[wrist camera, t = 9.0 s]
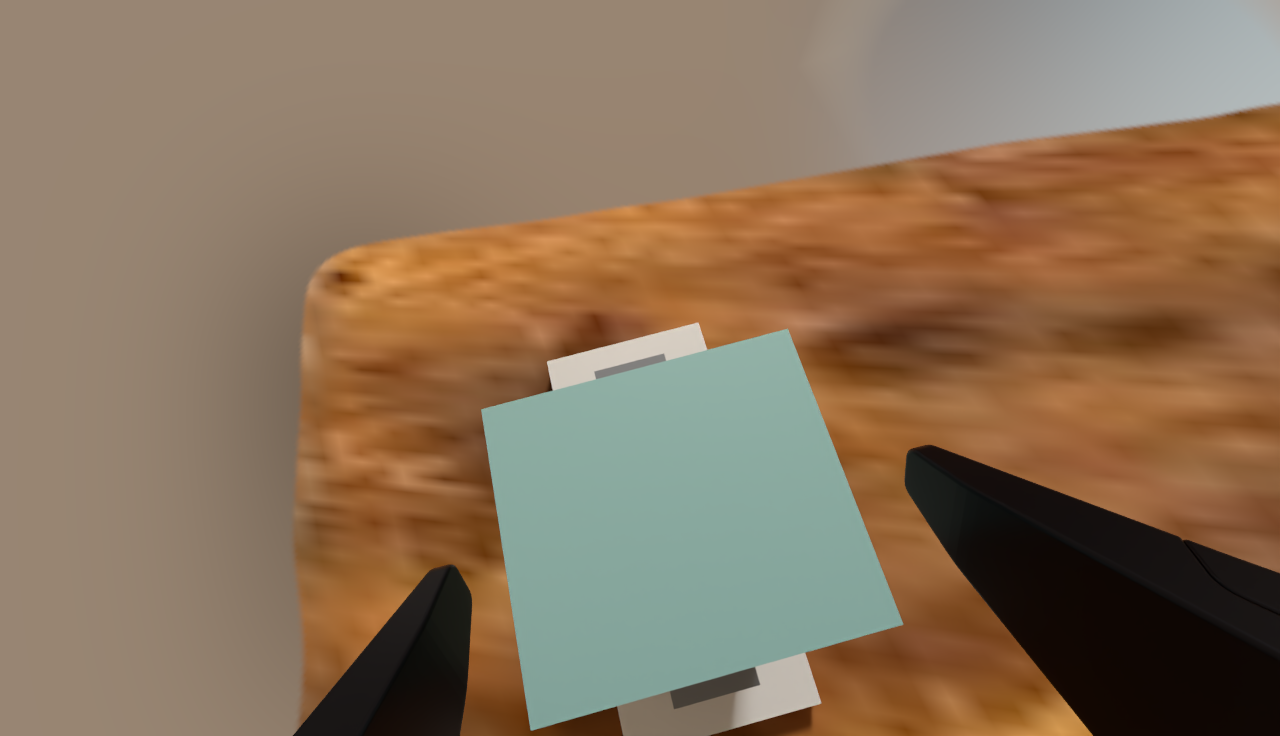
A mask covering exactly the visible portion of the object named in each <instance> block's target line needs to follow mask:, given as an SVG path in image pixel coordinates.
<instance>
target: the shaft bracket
mask: <svg viewBox="0 0 1280 736" xmlns="http://www.w3.org/2000/svg"><path fill="white" fill-rule="evenodd" d="M706 350H707V348H706V345H705V342H704V339H703V335H702V332H701V329H700V326H699V323H695V324H691V325H687V326H683V327H679V328H675V329H672V330H668V331H664V332H660V333H656V334H652V335H648V336H644V337H641V338H637V339H633V340H629V341H625V342H621V343H617V344H614V345H610V346H606V347H602V348H598V349H594V350H590V351H586V352H583V353H579V354H575V355H571V356H567V357H563V358H559V359H555V360H552V361H548V362H547V364H548V369H549V374H550V379H551V384H552V389H553V391H554V390H557V389H561V388H565V387H569V386H573V385H576V384H580V383H584V382H588V381H592V380H595V379H599V378H603V377H607V376H611V375H614V374H618V373H622V372H626V371H630V370H633V369H637V368H641V367H645V366H649V365H652V364H656V363H660V362H664V361H668V360H671V359H675V358H679V357H683V356H687V355H690V354H694V353H698V352H702V351H706ZM818 704H821V701H820V698H819V694H818V691H817V688H816V685H815V682H814V679H813V676H812V673H811V670H810V667H809V664H808V660H807V657H806V654H805V653H802V654H798V655H795V656H791V657H788V658H784V659H781V660H777V661H774V662H770V663H767V664H763V665H760V666H756V667H753V668H749V669H746V670H742V671H739V672H735V673H732V674H728V675H725V676H721V677H718V678H714V679H711V680H707V681H704V682H700V683H697V684H693V685H690V686H686V687H683V688H679V689H676V690H672V691H669V692H665V693H662V694H658V695H655V696H651V697H647V698H644V699H640V700H637V701H633V702H630V703H626V704H623V705H619V706H617V708H618V713H619V718H620V723H621V728H622V733H623V736H709V735H713V734H716V733H720V732H723V731H727V730H730V729H734V728H737V727H741V726H744V725H748V724H751V723H755V722H758V721H762V720H765V719H769V718H772V717H776V716H779V715H783V714H786V713H790V712H793V711H797V710H800V709H804V708H807V707H811V706H814V705H818Z"/></svg>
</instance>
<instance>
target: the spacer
mask: <svg viewBox="0 0 1280 736" xmlns="http://www.w3.org/2000/svg"><path fill="white" fill-rule="evenodd" d="M481 411H482V417H483V424H484V430H485V437H486V443H487V450H488V456H489V463H490V469H491V476H492V482H493V489H494V495H495V502H496V508H497V515H498V521H499V528H500V534H501V541H502V547H503V554H504V560H505V567H506V573H507V580H508V586H509V593H510V599H511V606H512V612H513V619H514V625H515V632H516V638H517V645H518V651H519V658H520V664H521V671H522V677H523V684H524V690H525V697H526V703H527V710H528V716H529V723H530V729H531V731H532V730H535V729H539V728H542V727H546V726H549V725H553V724H556V723H560V722H563V721H567V720H570V719H574V718H577V717H581V716H584V715H588V714H591V713H595V712H598V711H602V710H605V709H609V708H612V707H616V706H619V705H623V704H626V703H630V702H633V701H637V700H640V699H644V698H647V697H651V696H655V695H658V694H662V693H665V692H669V691H672V690H676V689H679V688H683V687H686V686H690V685H693V684H697V683H700V682H704V681H707V680H711V679H714V678H718V677H721V676H725V675H728V674H732V673H735V672H739V671H742V670H746V669H749V668H753V667H756V666H760V665H763V664H767V663H770V662H774V661H777V660H781V659H784V658H788V657H791V656H795V655H798V654H802V653H805V652H809V651H812V650H816V649H819V648H823V647H826V646H830V645H833V644H837V643H840V642H844V641H847V640H851V639H854V638H858V637H861V636H865V635H868V634H872V633H875V632H879V631H882V630H886V629H889V628H893V627H896V626H900V625H903V622H902V620H901V617H900V615H899V612H898V609H897V607H896V604H895V602H894V599H893V597H892V594H891V592H890V589H889V586H888V584H887V581H886V579H885V576H884V574H883V571H882V569H881V566H880V563H879V561H878V558H877V556H876V553H875V551H874V548H873V546H872V543H871V540H870V538H869V535H868V533H867V530H866V528H865V525H864V523H863V520H862V517H861V515H860V512H859V510H858V507H857V505H856V502H855V500H854V497H853V494H852V492H851V489H850V487H849V484H848V482H847V479H846V477H845V474H844V471H843V469H842V466H841V464H840V461H839V459H838V456H837V454H836V451H835V448H834V446H833V443H832V441H831V438H830V436H829V433H828V431H827V428H826V425H825V423H824V420H823V418H822V415H821V413H820V410H819V408H818V405H817V402H816V400H815V397H814V395H813V392H812V390H811V387H810V385H809V382H808V379H807V377H806V374H805V372H804V369H803V367H802V364H801V362H800V359H799V356H798V354H797V351H796V349H795V346H794V344H793V341H792V339H791V336H790V333H789V331H788V329H785V330H782V331H778V332H774V333H770V334H766V335H763V336H759V337H755V338H751V339H747V340H744V341H740V342H736V343H732V344H728V345H725V346H721V347H717V348H713V349H709V350H706V351H702V352H698V353H694V354H690V355H687V356H683V357H679V358H675V359H671V360H668V361H664V362H660V363H656V364H652V365H649V366H645V367H641V368H637V369H633V370H630V371H626V372H622V373H618V374H614V375H611V376H607V377H603V378H599V379H595V380H592V381H588V382H584V383H580V384H576V385H573V386H569V387H565V388H561V389H557V390H554V391H550V392H546V393H542V394H538V395H535V396H531V397H527V398H523V399H519V400H516V401H512V402H508V403H504V404H500V405H497V406H493V407H489V408H485V409H481Z"/></svg>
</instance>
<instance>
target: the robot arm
mask: <svg viewBox="0 0 1280 736" xmlns="http://www.w3.org/2000/svg"><path fill="white" fill-rule="evenodd" d="M905 486H906V489H907V491H908V493H909V495H910V497H911V498H912V500H913V501H914V503H915V504H916V506H917V507H918V509H919V510H920V512H921V513H922V515H923V516H924V518H925V519H926V521H927V522H928V524H929V525H930V527H931V529H932V530H933V532H934V533H935V535H936V536H937V538H938V539H939V541H940V542H941V544H942V545H943V547H944V548H945V550H946V551H947V553H948V554H949V556H950V557H951V559H952V560H953V561H954V563H955V564H956V565H957V567H958V568H959V569H960V571H961V572H962V573H963V575H964V576H965V577H966V578H967V579H968V581H969V582H970V583H971V584H972V586H973V587H974V588H975V589H976V591H977V592H978V593H979V594H980V596H981V597H982V598H983V599H984V601H985V602H986V603H987V604H988V606H989V607H990V608H991V609H992V611H993V612H994V613H995V614H996V615H997V617H998V618H999V619H1000V620H1001V622H1002V623H1003V624H1004V625H1005V627H1006V628H1007V629H1008V630H1009V632H1010V633H1011V634H1012V635H1013V637H1014V638H1015V639H1016V640H1017V642H1018V643H1019V644H1020V645H1021V647H1022V648H1023V649H1024V650H1025V652H1026V653H1027V654H1028V655H1029V656H1030V658H1031V659H1032V660H1033V661H1034V663H1035V664H1036V665H1037V666H1038V668H1039V669H1040V670H1041V671H1042V673H1043V674H1044V675H1045V676H1046V678H1047V679H1048V680H1049V681H1050V683H1051V684H1052V685H1053V686H1054V688H1055V689H1056V690H1057V691H1058V692H1059V694H1060V695H1061V696H1062V697H1063V699H1064V700H1065V701H1066V702H1067V704H1068V705H1069V706H1070V707H1071V709H1072V710H1073V711H1074V712H1075V714H1076V715H1077V716H1078V717H1079V719H1080V720H1081V721H1082V722H1083V724H1084V725H1085V726H1086V727H1087V729H1088V730H1089V731H1090V732H1091V733H1092V735H1093V736H1280V573H1278V572H1275V571H1272V570H1269V569H1266V568H1264V567H1261V566H1258V565H1255V564H1252V563H1250V562H1247V561H1244V560H1241V559H1238V558H1236V557H1233V556H1230V555H1227V554H1225V553H1222V552H1219V551H1216V550H1214V549H1211V548H1208V547H1206V546H1203V545H1200V544H1198V543H1195V542H1192V541H1190V540H1182V539H1181V538H1180V537H1178V536H1176V535H1173V534H1170V533H1168V532H1165V531H1162V530H1160V529H1157V528H1154V527H1152V526H1149V525H1146V524H1143V523H1141V522H1138V521H1135V520H1133V519H1130V518H1127V517H1125V516H1122V515H1119V514H1117V513H1114V512H1111V511H1108V510H1106V509H1103V508H1100V507H1098V506H1095V505H1092V504H1090V503H1087V502H1084V501H1082V500H1079V499H1076V498H1073V497H1071V496H1068V495H1065V494H1063V493H1060V492H1057V491H1055V490H1052V489H1049V488H1047V487H1044V486H1041V485H1038V484H1036V483H1033V482H1030V481H1028V480H1025V479H1022V478H1020V477H1017V476H1014V475H1012V474H1009V473H1006V472H1003V471H1001V470H998V469H995V468H993V467H990V466H987V465H985V464H982V463H979V462H977V461H974V460H971V459H969V458H966V457H963V456H960V455H958V454H955V453H952V452H950V451H947V450H944V449H942V448H939V447H936V446H933V445H925V446H921V447H917V448H913V449H910V450H909V451H908V453H907V456H906V468H905ZM471 614H472V597H471V593H470V590H469V588H468V587H467V585H466V583H465V581H464V580H463V578H462V576H461V574H460V573H459V571H458V569H457V568H456V566H454V565H445V566H441V567H438V568H434V569H432V570H430V571H429V572H428V573H427V574H426V576H425V577H424V578H423V579H422V580H421V582H420V583H419V584H418V585H417V586H416V588H415V589H414V590H413V591H412V592H411V594H410V595H409V596H408V597H407V598H406V600H405V601H404V602H403V603H402V605H401V606H400V607H399V608H398V609H397V611H396V612H395V613H394V614H393V615H392V617H391V618H390V619H389V620H388V621H387V623H386V624H385V625H384V626H383V628H382V629H381V630H380V631H379V632H378V634H377V635H376V636H375V637H374V638H373V640H372V641H371V642H370V643H369V644H368V646H367V647H366V648H365V649H364V650H363V652H362V653H361V654H360V655H359V657H358V658H357V659H356V660H355V661H354V663H353V664H352V665H351V666H350V667H349V669H348V670H347V671H346V672H345V673H344V675H343V676H342V677H341V678H340V679H339V681H338V682H337V683H336V684H335V686H334V687H333V688H332V689H331V690H330V692H329V693H328V694H327V695H326V696H325V698H324V699H323V700H322V701H321V702H320V704H319V705H318V706H317V707H316V708H315V710H314V711H313V712H312V713H311V715H310V716H309V717H308V718H307V719H306V721H305V722H304V723H303V724H302V725H301V727H300V728H299V729H298V730H297V731H296V733H295V734H294V735H293V736H460V731H461V724H462V718H463V712H464V706H465V699H466V691H467V681H468V666H469V649H470V631H471Z"/></svg>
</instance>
